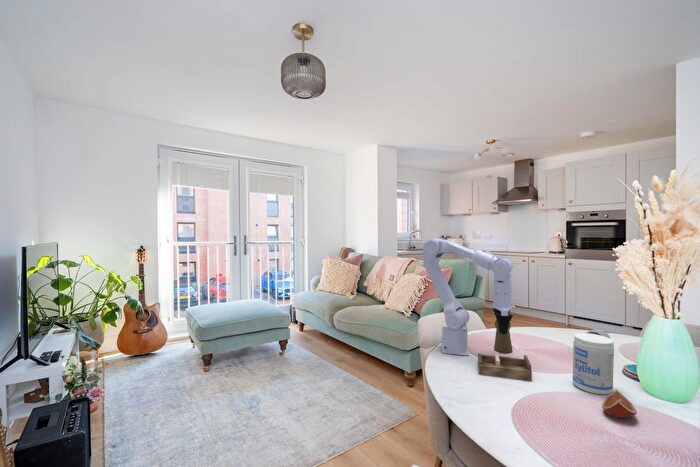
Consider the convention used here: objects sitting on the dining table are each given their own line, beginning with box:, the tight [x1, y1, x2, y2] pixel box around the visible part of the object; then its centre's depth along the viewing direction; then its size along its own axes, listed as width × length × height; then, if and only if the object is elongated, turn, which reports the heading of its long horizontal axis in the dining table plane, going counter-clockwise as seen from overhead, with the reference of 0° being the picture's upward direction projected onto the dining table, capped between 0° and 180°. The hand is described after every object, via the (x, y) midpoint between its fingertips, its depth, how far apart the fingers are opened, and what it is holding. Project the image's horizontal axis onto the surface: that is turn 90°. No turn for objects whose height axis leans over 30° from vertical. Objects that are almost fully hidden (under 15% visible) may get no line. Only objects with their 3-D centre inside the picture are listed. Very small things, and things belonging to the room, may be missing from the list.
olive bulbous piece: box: [493, 320, 513, 355], centre depth 118 cm, size 6×6×11 cm
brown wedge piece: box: [601, 389, 638, 419], centre depth 83 cm, size 8×7×5 cm
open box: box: [477, 352, 533, 382], centre depth 109 cm, size 15×10×5 cm, turn 71°
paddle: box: [494, 352, 500, 367], centre depth 110 cm, size 1×8×4 cm, turn 161°
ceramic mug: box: [585, 328, 611, 339], centre depth 130 cm, size 11×8×8 cm
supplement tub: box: [572, 332, 615, 395], centre depth 97 cm, size 10×10×15 cm
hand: (502, 331), depth 118 cm, fingers closed on olive bulbous piece, 5 cm apart
